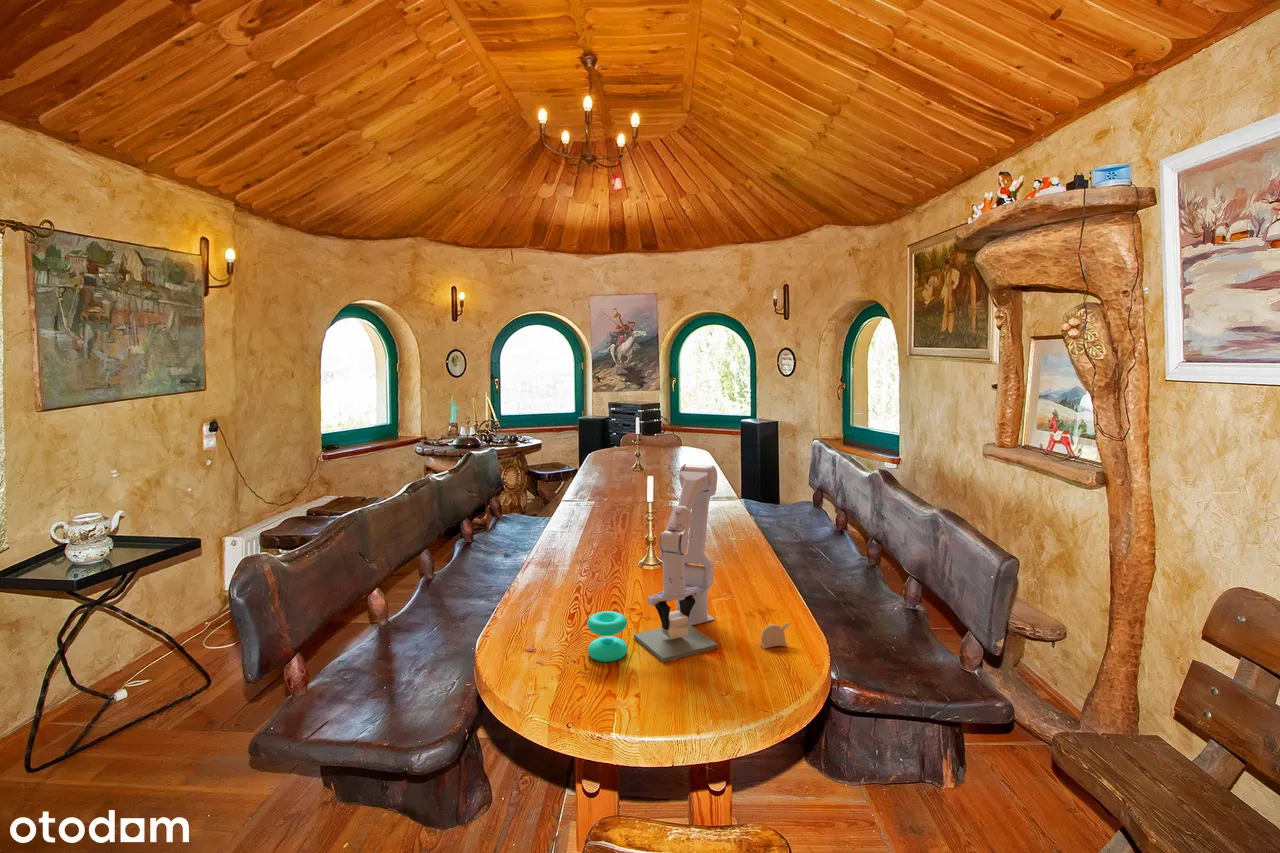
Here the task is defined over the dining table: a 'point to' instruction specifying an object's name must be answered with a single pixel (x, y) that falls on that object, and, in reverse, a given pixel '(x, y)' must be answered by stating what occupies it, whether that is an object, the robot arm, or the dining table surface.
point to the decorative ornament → (773, 636)
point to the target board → (674, 643)
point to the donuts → (607, 636)
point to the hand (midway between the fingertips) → (674, 626)
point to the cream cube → (676, 625)
